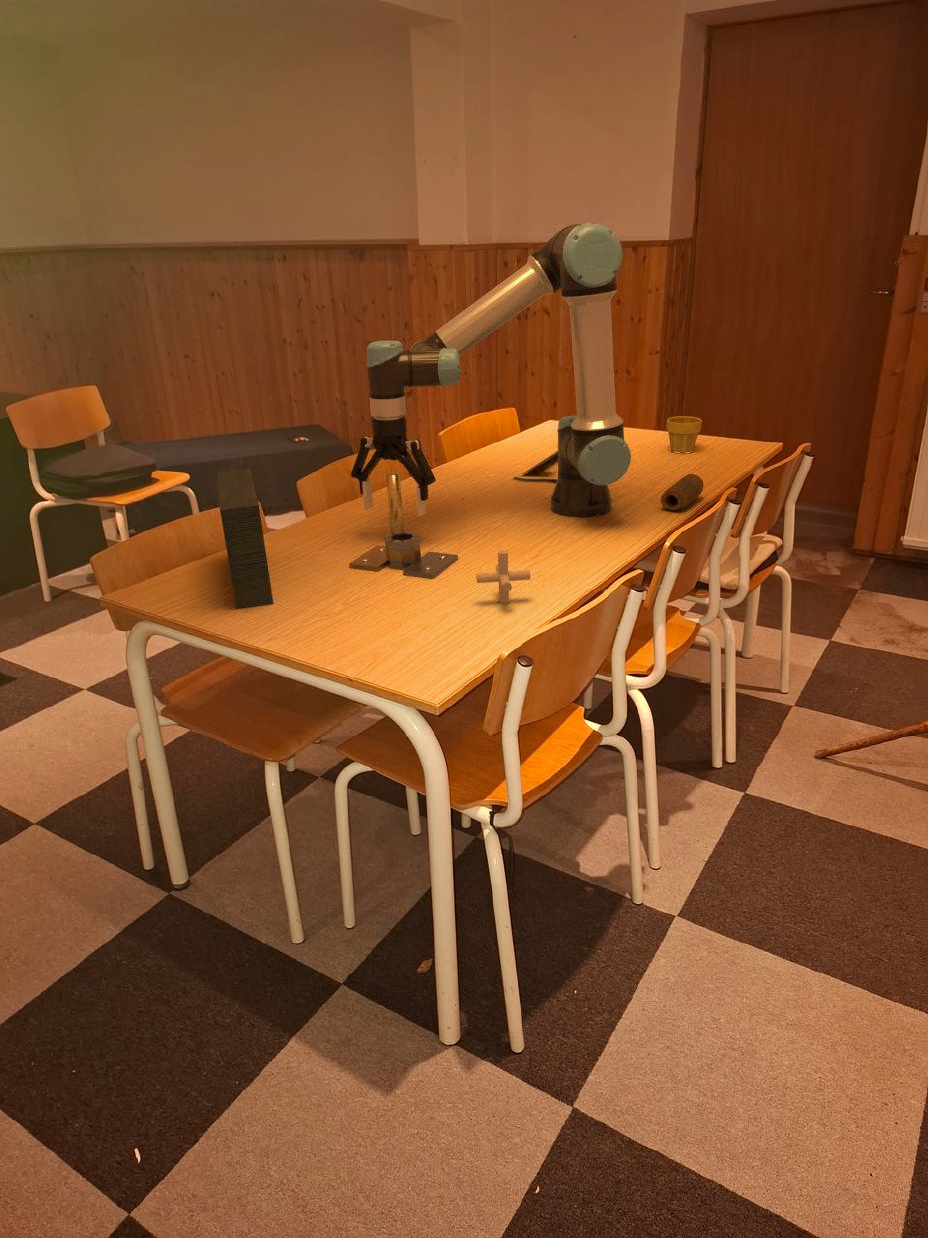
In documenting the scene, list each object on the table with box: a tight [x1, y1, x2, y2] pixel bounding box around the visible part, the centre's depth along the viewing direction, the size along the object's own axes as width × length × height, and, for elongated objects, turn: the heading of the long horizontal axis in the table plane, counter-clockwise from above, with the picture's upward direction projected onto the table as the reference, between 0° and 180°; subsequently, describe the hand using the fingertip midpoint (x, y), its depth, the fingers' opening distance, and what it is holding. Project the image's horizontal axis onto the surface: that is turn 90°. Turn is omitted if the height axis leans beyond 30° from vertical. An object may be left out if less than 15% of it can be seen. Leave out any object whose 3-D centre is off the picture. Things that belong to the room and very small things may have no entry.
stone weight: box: [660, 473, 704, 511], centre depth 209 cm, size 15×7×7 cm, turn 150°
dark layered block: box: [216, 468, 274, 610], centre depth 171 cm, size 29×7×20 cm, turn 16°
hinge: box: [348, 530, 459, 580], centre depth 179 cm, size 20×12×6 cm, turn 65°
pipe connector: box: [476, 549, 531, 604], centre depth 158 cm, size 10×10×10 cm
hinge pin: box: [385, 471, 405, 534], centre depth 190 cm, size 3×3×16 cm
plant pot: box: [666, 415, 703, 453], centre depth 258 cm, size 10×10×10 cm
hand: (394, 511), depth 190 cm, fingers open, 13 cm apart
